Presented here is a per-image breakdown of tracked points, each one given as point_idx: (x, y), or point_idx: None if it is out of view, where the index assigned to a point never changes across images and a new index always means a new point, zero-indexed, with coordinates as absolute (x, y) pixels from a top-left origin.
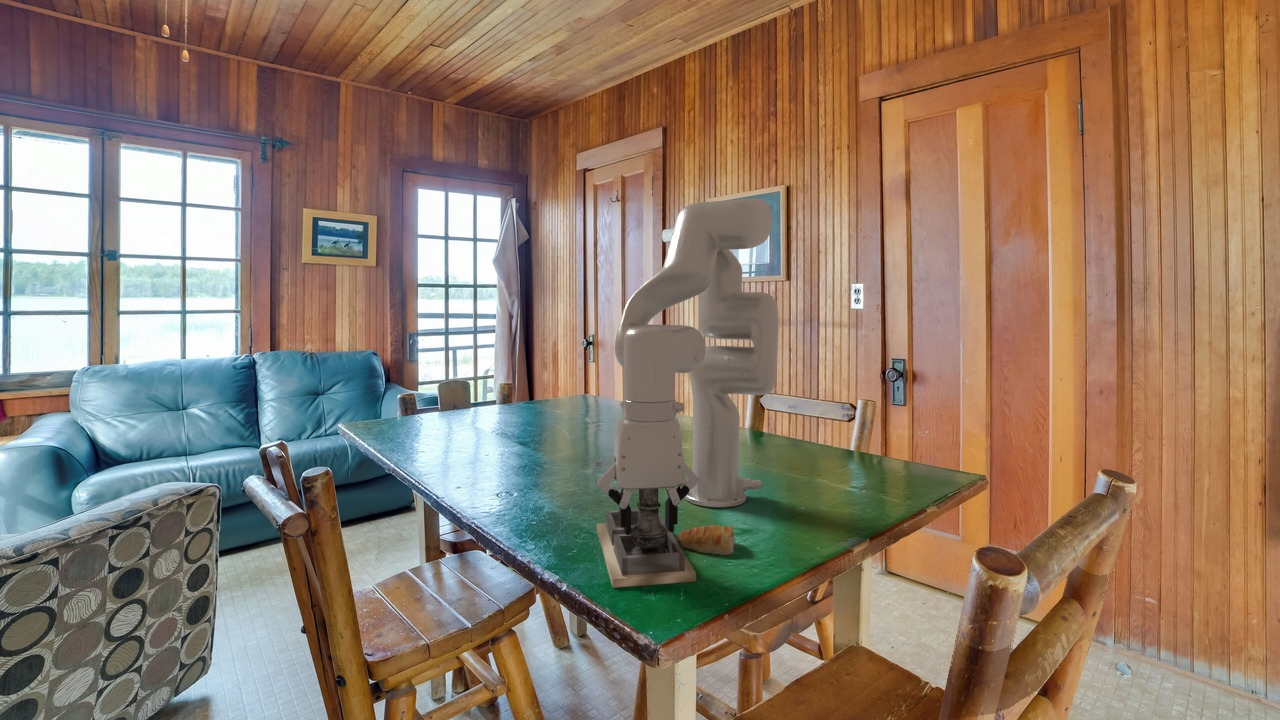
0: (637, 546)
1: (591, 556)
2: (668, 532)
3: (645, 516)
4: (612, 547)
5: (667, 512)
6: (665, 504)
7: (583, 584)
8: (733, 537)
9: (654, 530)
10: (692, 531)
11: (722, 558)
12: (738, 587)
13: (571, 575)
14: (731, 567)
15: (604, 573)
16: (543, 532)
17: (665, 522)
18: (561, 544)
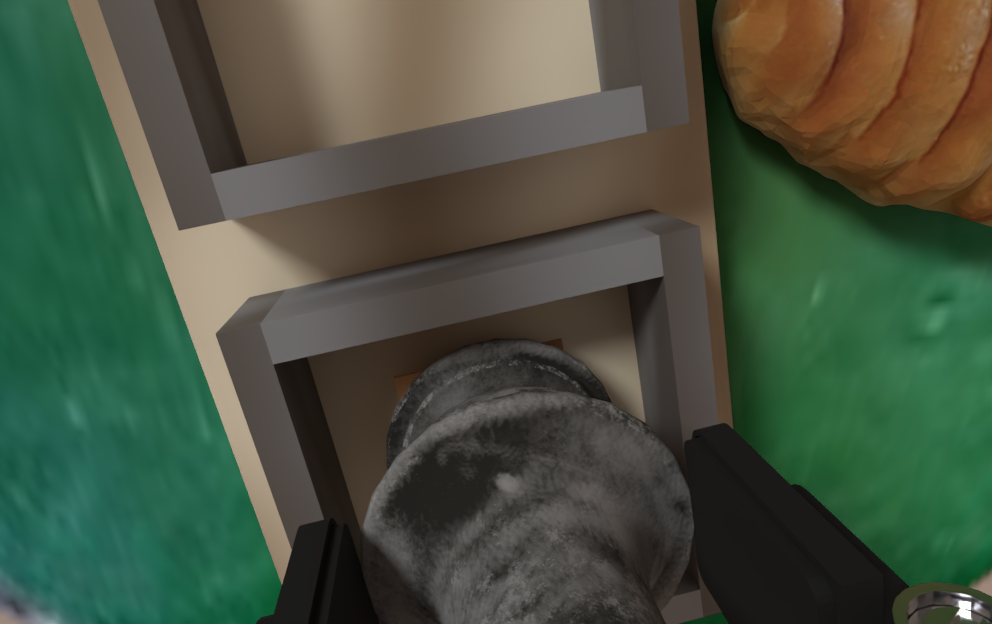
0: (429, 421)
1: (99, 271)
2: (679, 257)
3: None
4: (231, 251)
5: (767, 620)
6: (794, 578)
7: (157, 619)
8: None
9: None
10: (864, 32)
11: (923, 252)
12: (894, 558)
13: (53, 536)
14: (932, 364)
15: (245, 494)
16: None
17: (696, 461)
18: None
